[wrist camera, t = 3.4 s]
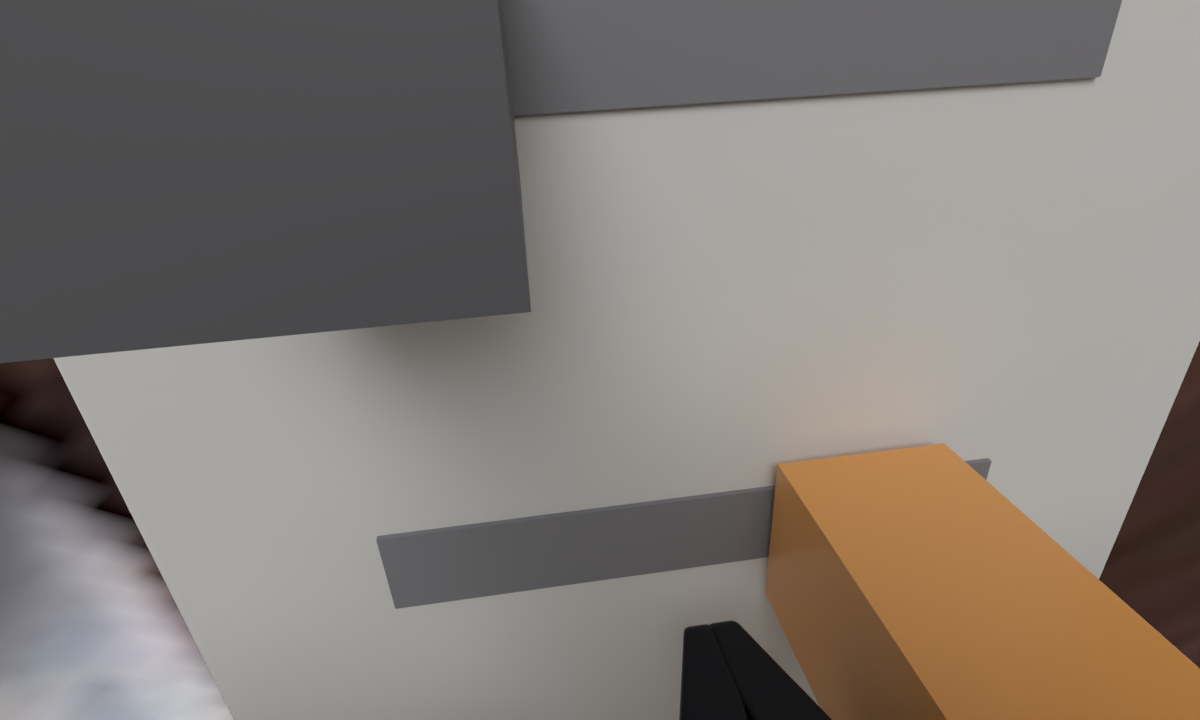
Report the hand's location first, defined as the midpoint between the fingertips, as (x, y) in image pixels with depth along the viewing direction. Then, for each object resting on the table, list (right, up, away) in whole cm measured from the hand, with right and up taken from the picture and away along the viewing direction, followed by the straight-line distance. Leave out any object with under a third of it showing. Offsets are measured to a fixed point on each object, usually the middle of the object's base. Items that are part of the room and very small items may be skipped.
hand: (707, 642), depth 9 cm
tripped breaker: (+3, +1, +2) cm, 4 cm away
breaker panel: (0, +2, +4) cm, 4 cm away
